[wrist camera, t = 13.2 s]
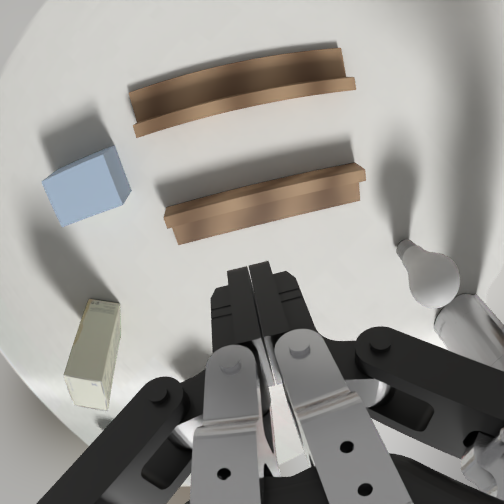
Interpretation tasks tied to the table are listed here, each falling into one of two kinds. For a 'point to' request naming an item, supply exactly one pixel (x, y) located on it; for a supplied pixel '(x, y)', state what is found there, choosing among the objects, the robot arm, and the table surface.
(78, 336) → the skincare box
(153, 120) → the chute
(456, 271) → the lightbulb
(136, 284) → the table surface
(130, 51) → the table surface
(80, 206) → the block
